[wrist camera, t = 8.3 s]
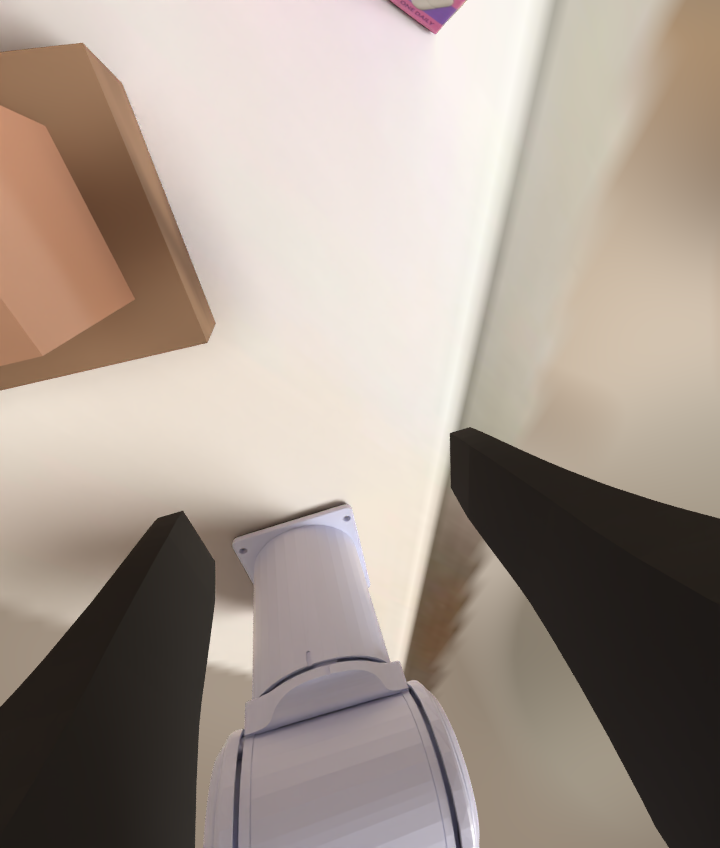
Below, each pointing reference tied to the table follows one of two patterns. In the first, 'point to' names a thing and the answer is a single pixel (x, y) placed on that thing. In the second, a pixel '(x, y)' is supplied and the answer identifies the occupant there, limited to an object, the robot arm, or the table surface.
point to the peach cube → (47, 248)
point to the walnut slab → (108, 211)
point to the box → (430, 11)
